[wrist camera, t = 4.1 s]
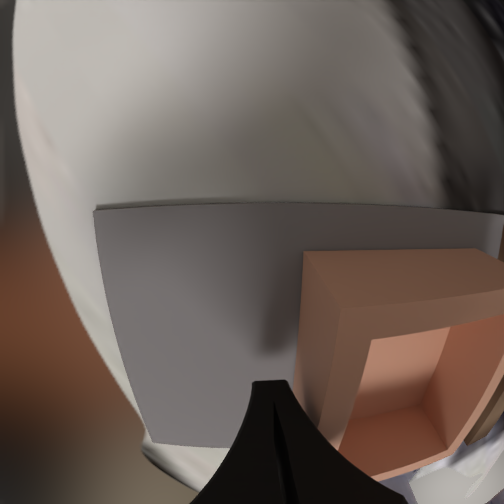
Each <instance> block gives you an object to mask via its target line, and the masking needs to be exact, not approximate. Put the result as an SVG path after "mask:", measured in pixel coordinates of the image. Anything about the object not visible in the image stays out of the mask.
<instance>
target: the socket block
mask: <svg viewBox="0 0 504 504" xmlns="http://www.w3.org/2000/svg"><path fill="white" fill-rule="evenodd" d="M503 375H504V262H502V261H500V260H498V259H496V258H494V257H492V256H490V255H488V254H486V253H484V252H482V251H480V250H478V249H476V248H463V249H400V250H338V251H304V252H303V271H302V288H301V303H300V317H299V330H298V342H297V353H296V363H295V373H294V383H293V393H294V395H295V397H296V399H297V400H298V402H299V404H300V405H301V407H302V408H303V410H304V411H305V413H306V414H307V416H308V417H309V418H310V420H311V421H312V422H313V424H314V425H315V426H316V428H317V429H318V430H319V431H320V432H321V434H322V435H323V436H324V437H325V438H326V439H327V440H328V441H329V443H330V444H331V445H332V446H333V447H334V448H335V449H336V450H337V451H338V452H339V453H341V454H342V455H343V456H344V457H345V458H346V459H347V460H348V461H350V462H351V463H352V464H353V465H355V466H356V467H357V468H359V469H360V470H361V471H363V472H364V473H365V474H367V475H368V476H370V477H371V478H373V479H374V480H376V481H382V480H385V479H389V478H392V477H395V476H398V475H401V474H404V473H407V472H410V471H413V470H416V469H418V468H421V467H423V466H426V465H429V464H431V463H433V462H436V461H438V460H441V459H443V458H445V457H447V456H450V455H452V454H453V453H454V452H455V451H456V449H457V448H458V447H459V445H460V444H461V443H462V441H463V440H464V439H465V437H466V436H467V434H468V433H469V432H470V430H471V429H472V427H473V426H474V424H475V423H476V421H477V420H478V418H479V417H480V415H481V413H482V412H483V410H484V409H485V407H486V405H487V404H488V402H489V400H490V399H491V397H492V395H493V393H494V392H495V390H496V388H497V386H498V384H499V382H500V381H501V379H502V377H503Z"/></svg>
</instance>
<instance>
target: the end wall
mask: <svg viewBox="0 0 504 504" xmlns="http://www.w3.org/2000/svg"><path fill="white" fill-rule="evenodd" d="M498 260H500V261H502V262H504V225H503V231H502V238H501V244H500V249H499V254H498ZM503 411H504V375H503V377H502V379H501V381H500V382H499V384H498V386H497V388H496V390H495V392H494V393H493V395H492V397H491V399H490V400H489V402H488V404H487V405H486V407H485V409H484V410H483V412H482V413H481V415H480V417H479V418H478V420H477V421H476V423H475V424H474V426H473V427H472V429H471V430H470V432H469V433H468V434H467V436H466V437H465V439H464V442H465V443H466V445H467V446H468V445H470V444H472V443H474V442H476V441H478V440H480V439H481V438H483V437H485V436H487V434H488V433H489V432H490V430H491V429H492V427H493V426H494V425H495V423H496V422H497V420H498V419H499V417H500V416H501V414H502V413H503Z"/></svg>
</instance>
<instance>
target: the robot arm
mask: <svg viewBox="0 0 504 504" xmlns="http://www.w3.org/2000/svg"><path fill="white" fill-rule="evenodd" d="M419 469H420V468H418V469H416V470H413V471H410V472H407V473H404V474H401V475H398V476H395V477H392V478H389V479H385V480H382V481H376V480H374V479H373V478H371V477H370V476H368V475H367V474H365V473H364V472H363V471H361V470H360V469H359V468H357V467H356V466H355V465H353V464H352V463H351V462H350V461H348V460H347V459H346V458H345V457H344V456H343V455H342V454H341V453H339V452H338V451H337V450H336V449H335V448H334V447H333V446H332V445H331V444H330V443H329V441H328V440H327V439H326V438H325V437H324V436H323V435H322V434H321V432H320V431H319V430H318V429H317V428H316V426H315V425H314V424H313V422H312V421H311V420H310V418H309V417H308V416H307V414H306V413H305V411H304V410H303V408H302V407H301V405H300V404H299V402H298V400H297V399H296V397H295V395H294V393H293V392H292V390H291V388H290V386H289V383H288V381H287V380H285V379H283V380H263V381H254V382H252V390H251V396H250V400H249V404H248V408H247V411H246V414H245V416H244V419H243V422H242V425H241V427H240V429H239V431H238V434H237V436H236V438H235V440H234V442H233V444H232V446H231V448H230V450H229V452H228V453H227V455H226V457H225V459H224V460H223V462H222V463H221V465H220V466H219V468H218V469H217V471H216V472H215V474H214V475H213V477H212V478H211V479H210V481H209V482H208V483H207V484H206V485H205V487H204V488H203V489H202V490H201V491H200V493H199V494H198V495H197V496H196V497H195V499H194V500H193V501H192V502H191V503H190V504H417V501H416V499H415V496H414V494H413V492H412V489H411V487H410V484H409V481H410V480H411V478H412V477H413V476H414V475H415V474H416V472H417V471H418V470H419ZM486 504H504V489H503V490H501V491H500V492H499V493H498V494H497V495H495V496H494V497H493V498H492V499H491V500H490V501H489V502H487V503H486Z"/></svg>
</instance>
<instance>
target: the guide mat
mask: <svg viewBox="0 0 504 504" xmlns="http://www.w3.org/2000/svg"><path fill="white" fill-rule="evenodd" d="M93 217H94V226H95V234H96V241H97V248H98V255H99V261H100V267H101V273H102V278H103V283H104V288H105V293H106V298H107V303H108V307H109V311H110V316H111V320H112V324H113V328H114V332H115V335H116V339H117V343H118V346H119V350H120V353H121V357H122V360H123V363H124V367H125V370H126V373H127V376H128V379H129V382H130V385H131V388H132V391H133V394H134V396H135V399H136V402H137V405H138V407H139V410H140V413H141V415H142V418H143V420H144V423H145V425H146V428H147V430H148V432H149V435H150V437H151V439H152V442H153V443H161V444H170V445H180V446H193V447H211V448H231V446H232V444H233V442H234V440H235V438H236V436H237V434H238V431H239V429H240V427H241V425H242V422H243V419H244V416H245V414H246V411H247V408H248V404H249V400H250V396H251V390H252V382H254V381H263V380H283V379H285V380H287V381H288V383H289V386H290V388H291V390H292V392H293V383H294V373H295V363H296V353H297V342H298V330H299V317H300V303H301V288H302V271H303V252H304V251H338V250H400V249H463V248H476V249H478V250H480V251H482V252H484V253H486V254H488V255H490V256H492V257H494V258H496V259H498V254H499V249H500V244H501V238H502V231H503V225H504V215H501V214H492V213H482V212H472V211H462V210H450V209H437V208H423V207H408V206H389V205H367V204H337V203H220V204H188V205H166V206H147V207H130V208H116V209H103V210H94V211H93Z"/></svg>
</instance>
